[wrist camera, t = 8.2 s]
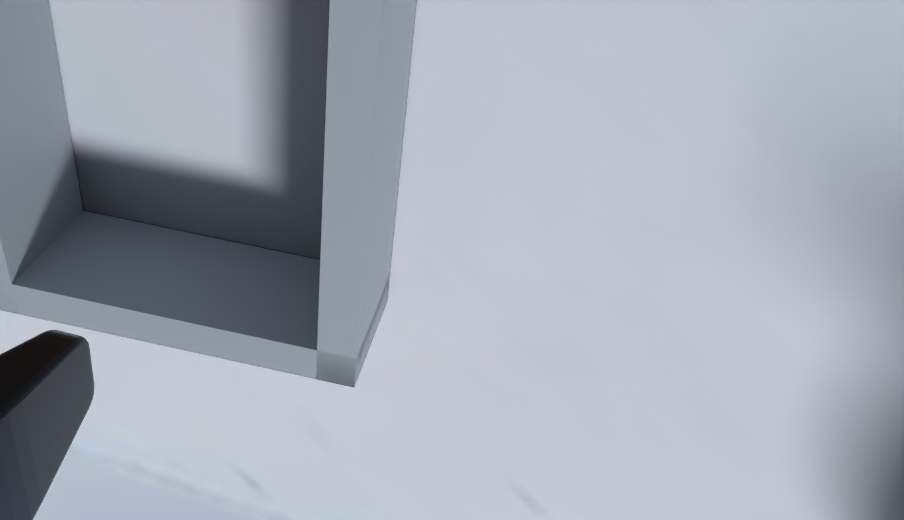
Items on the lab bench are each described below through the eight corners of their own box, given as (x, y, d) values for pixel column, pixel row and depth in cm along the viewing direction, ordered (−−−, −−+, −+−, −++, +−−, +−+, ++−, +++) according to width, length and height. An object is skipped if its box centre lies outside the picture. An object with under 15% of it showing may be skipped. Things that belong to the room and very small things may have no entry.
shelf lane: (424, -76, 18) (385, -24, 15) (386, 301, 25) (354, 387, 22) (-392, -222, 20) (-564, -198, 17) (-228, 172, 26) (-333, 236, 23)
